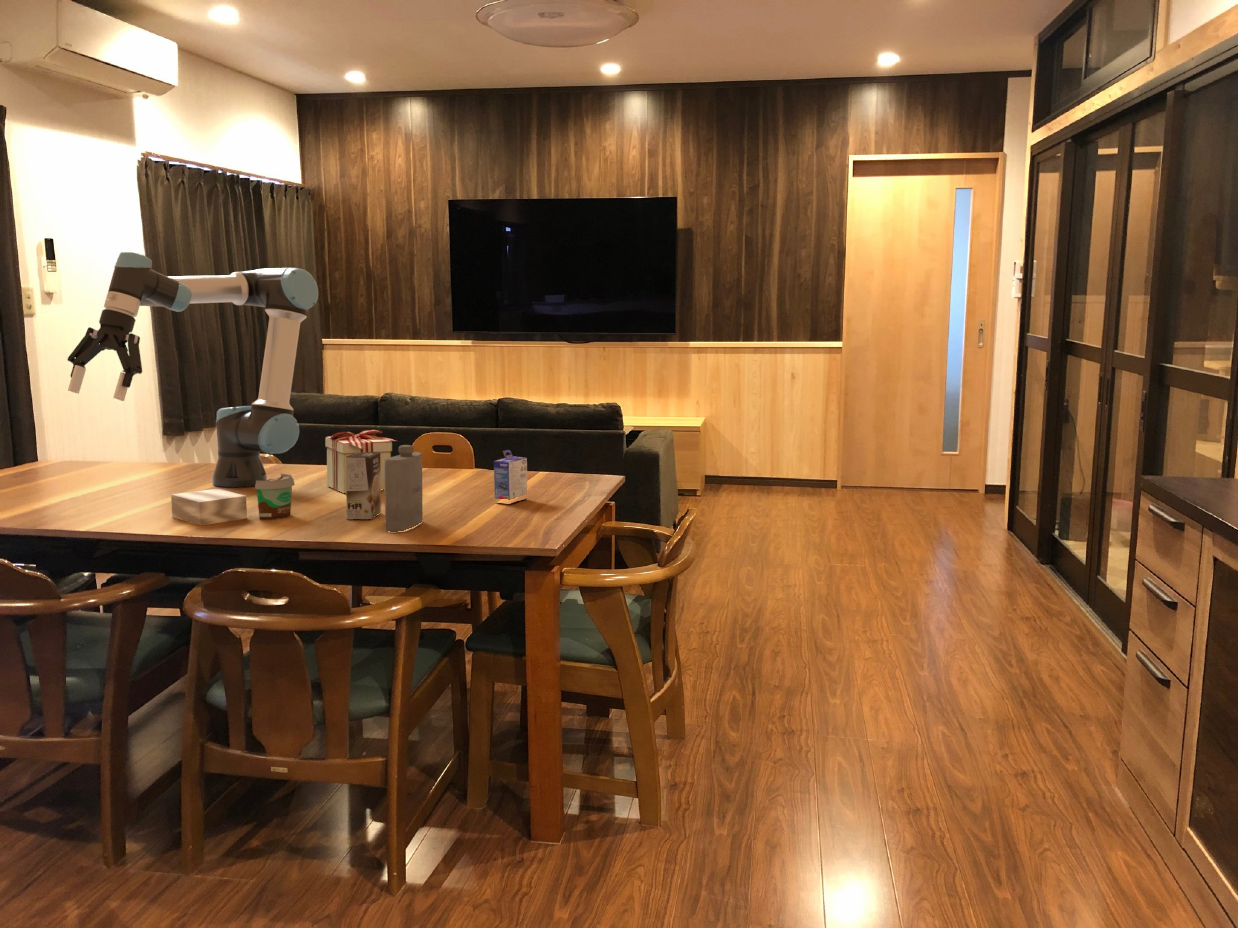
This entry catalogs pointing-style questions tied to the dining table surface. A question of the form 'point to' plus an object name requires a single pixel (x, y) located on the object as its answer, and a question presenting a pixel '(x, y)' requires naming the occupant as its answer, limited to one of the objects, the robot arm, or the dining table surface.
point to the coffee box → (363, 485)
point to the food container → (275, 497)
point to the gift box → (349, 445)
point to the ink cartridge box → (510, 477)
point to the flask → (403, 490)
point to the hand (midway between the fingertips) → (95, 396)
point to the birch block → (209, 506)
